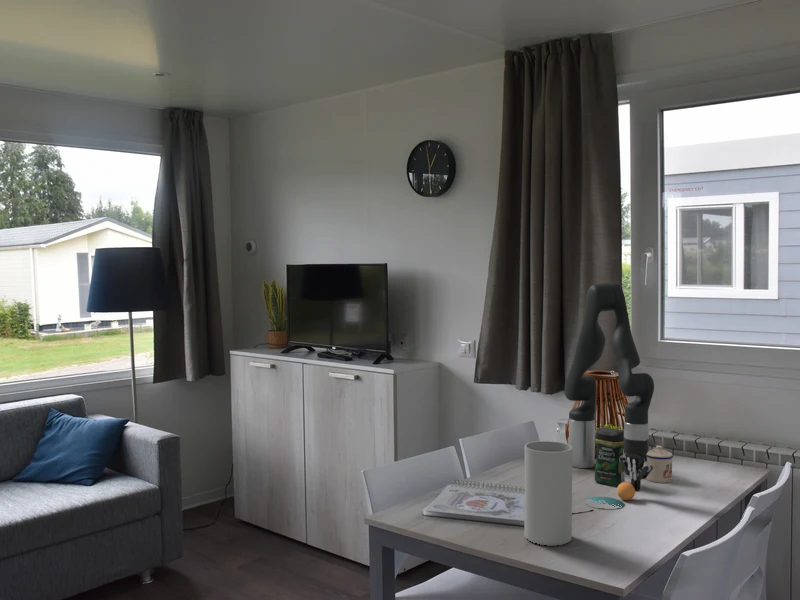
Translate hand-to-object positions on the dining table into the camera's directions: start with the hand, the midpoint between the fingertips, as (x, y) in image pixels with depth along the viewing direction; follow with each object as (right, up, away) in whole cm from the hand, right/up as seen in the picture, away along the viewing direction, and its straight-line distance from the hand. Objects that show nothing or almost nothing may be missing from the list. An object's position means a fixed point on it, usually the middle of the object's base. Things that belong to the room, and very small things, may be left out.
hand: (635, 490), depth 233 cm
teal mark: (-11, -3, -5) cm, 13 cm away
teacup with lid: (+15, -2, +22) cm, 27 cm away
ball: (-4, 0, -2) cm, 4 cm away
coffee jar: (-3, -2, +17) cm, 18 cm away
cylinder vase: (-35, -4, -34) cm, 49 cm away
